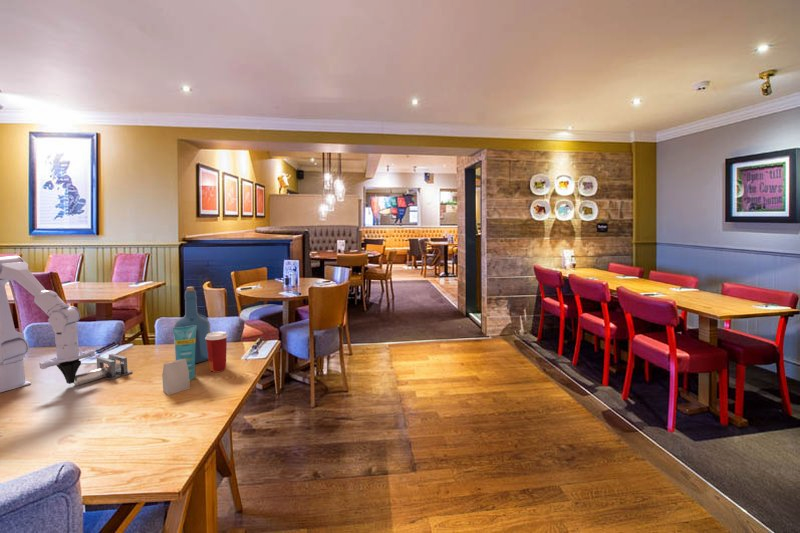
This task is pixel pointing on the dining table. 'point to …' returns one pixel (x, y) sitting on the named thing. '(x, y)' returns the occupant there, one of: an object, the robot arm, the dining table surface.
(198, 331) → the wine bottle
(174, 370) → the tea bag
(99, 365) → the grey holder stand
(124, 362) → the collar
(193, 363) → the tube
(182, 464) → the dining table surface
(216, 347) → the paper cup
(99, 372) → the silver cylinder
